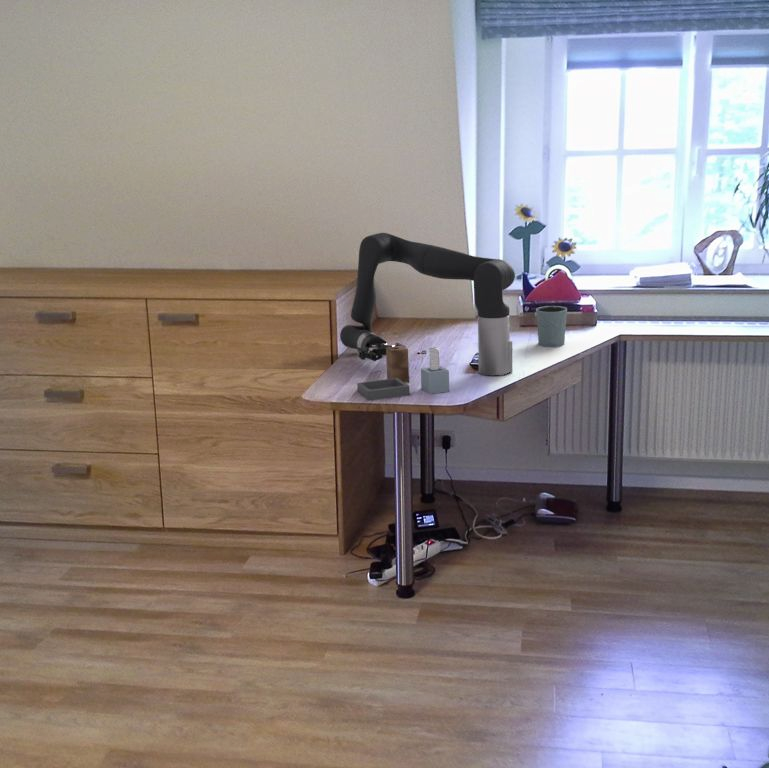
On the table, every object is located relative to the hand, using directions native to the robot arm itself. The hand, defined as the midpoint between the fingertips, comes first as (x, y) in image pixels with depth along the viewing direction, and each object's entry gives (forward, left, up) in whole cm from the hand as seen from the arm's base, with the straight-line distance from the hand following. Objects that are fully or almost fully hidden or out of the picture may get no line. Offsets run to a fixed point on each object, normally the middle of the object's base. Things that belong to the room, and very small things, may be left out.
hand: (388, 356), depth 275 cm
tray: (+8, +18, -6) cm, 20 cm away
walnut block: (0, +8, -6) cm, 10 cm away
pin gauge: (-6, +22, -6) cm, 23 cm away
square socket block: (-6, +22, -6) cm, 23 cm away
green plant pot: (-62, -13, -6) cm, 64 cm away
